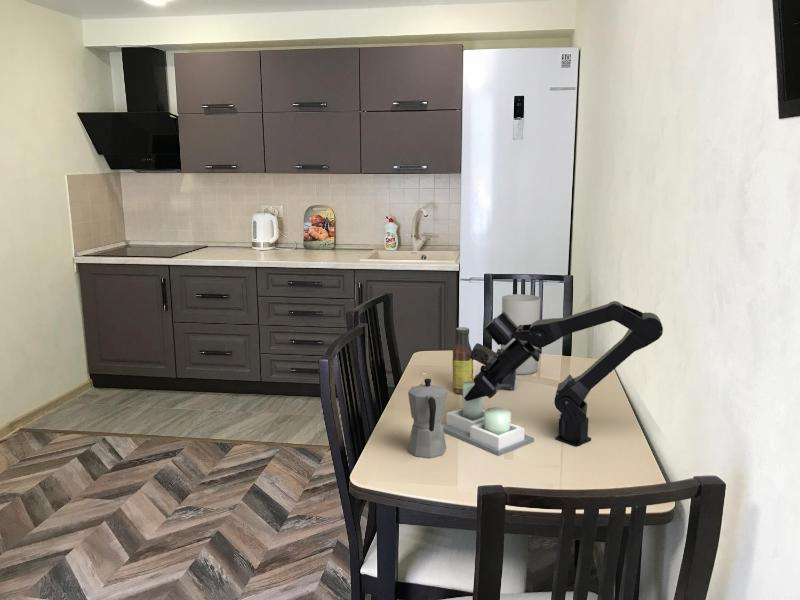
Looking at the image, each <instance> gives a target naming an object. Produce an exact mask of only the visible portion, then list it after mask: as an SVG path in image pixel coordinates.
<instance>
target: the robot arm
mask: <svg viewBox="0 0 800 600" xmlns="http://www.w3.org/2000/svg"><path fill="white" fill-rule="evenodd" d="M614 321H615V323H618V324H620V325H622V326H623V327H625V328H627V329H628V330H626V333H625V334H624V336H623V337H622V338H621V339H620V340H619V341H618V342H616V343H615V344H614V345H613V346H612V347H611V348H610V349H608V350H607V352H605V353H604V354H603V355H602V356H600V358H598V360H596V361H595V362H593V364H591V365H590V367H588V368H587V369H586V370H585V371H584V372H583V373H581V374H580V375H578V376H576V377H573V376H572V375H571V374H568V376H567V377H566V378H565V379H564V380H563V381H561V382H559V383H558V384H557V389H556V392H555V396H554V406H555V409H556V410H557V411H558V412H560V415H559V419H558V425H557V426H558V430H557V431H558V432H557V433H558V435H556V436H555V440H558V441H560V442H564V443H566V444H568V445H571V446H573V447H579V446H580V445H584V444H586V443H588V442H590V441H592V437H590V436H589V422H590V421H589V419H590V418H589V417H587V414H588V403H587V402H586V401H585V399H586V398H587V396H588V395H589V393H590V392H591V390H592V389H594V387H596V386H597V385H599V384H600V383H601V381H603V380H604V379H605V378H606V377H607V376H608V375H609V374H611V373H612V372H613V371H614V370H615V369H617V367H619V365H621V364H622V363H623V362H625V361H626V360H627V359H628V358H629V357H630V356H631V355H632V354H634V353H635V352H637V351H640V350H642V349H644V348H647V347H648V346H650V345H652V344H653V343H655V342H656V341H658V340H659V339H660V338H661V337H662V335H663V333H664V327H663V324H662V321H661V319H660V317H659V316H658V315H657V314H655V313H652V312H642V311H640V310H638V309H636V308H633V307H629V306H627V305H624V304H622V303H621V302H619V301H616V300H614V301H610V302H609V303H606V304H604V305H600V306H596V307H594V308H591V309H587V310H584V311H583V310H582V311H581V312H577V313H574V314H571V315H568V316H567V315H566V316H564V317H560V318H545V319H543V318H542V319H540V320H537V321H535V322H533V323H532V324H528V325H519V326H518V327H517V325H516V324H515V323H514V322H513V321H512V320H511V319H510V318H509V317H508V315H507V314H506V313H505V312H503V313H502V312H501V313H500V314H499V315H498V316H496V317H494V318H493V319H492V320H491V321H490V322H489V323H488V324H487V325H485V326H484V328H483V330H484V332H485V333H486V334H487V335H488V336H489V337H490V338H491V339H492V340H493V341H494V342H495V343H496V344H497V345H498V346H501V345H504V346H505V345H506V344H508V343H509V342H510V341H511V340H512V339H513V338H515V339H516V340H514V341H513V342H512V343H511V344H510V345H509V346H508V347H506V348H505V349H504V350H503V351H499V352H498V353H497V352H495V351H494V350H492V349H491V348H488V347H487V346H485V345H483V344H481V343H479V342H478V343H475V345H474V347H472V349H471V350H472V352H471V354H470V356H469V357H470V358H471V359H472V360H473V361H475V362H478V363H480V364H482V365H481V366H480V370H479V372H478V373H477V374H475V376H473V381H474V383H475V384H474V386H473V387H472V388H471V390H470V391H469V392H468V393H467V395H466V396H465V397H464V399H465V400H466V401H469V400H473V399H477V398H481V397H482V398H485V397H487V398H488V399H492V398H493V397H494V396H496V395H497V393H498V390H499V389H498V384H497V383H499V384H501V383H503V381H504V379H505V378H507V377H508V376H509V375H510V374H513V373H514V372H515V371H516V369H517V368H518V367H520V366H521V365H522V364H523V363H524V362H525V361H527V360H528V359H529V358H530V357H531V356H532V357H533V358H534V359H535V361H537V362H538V363H539V361H540V358H541V351H542V349H541V348H544V347H547V346H548V345H549V346H550V344H553V343H555V342H556V341H558V340H560V339H561V338H563V337H565V336H567V335H569V334H573V333H577V332H580V331H582V330H583V331H584V330H587V329H589V328H593V327H595V326H599V325H603V324H606V323H610V322H614ZM525 341H526V342H525ZM534 346H535V347H537V348H538V349H537V348H535V347H534Z"/></svg>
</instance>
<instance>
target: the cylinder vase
mask: <svg viewBox="0 0 800 600" xmlns="http://www.w3.org/2000/svg"><path fill="white" fill-rule="evenodd" d="M503 312H505V313H506V314H507V315H508V317H509V318H510V319H511V320H512V321H513V322H514V323H515V324H516V325H517V327H518V326H519V325H528V324H532V323H533V322H535V321H537V320H541V319H540V317H541V316H540V315H541V297H540V296H538V295H532V294H523V293H522V294H519V293H518V294H517V293H515V294H505V295H502V297H501V313H503ZM514 340H516V339H515V338H513V339H512V340H511V341H510V342H509V343H508V344H506V345H505V346H504V345H501V344H500V349H505V348H506V347H508V346H509V345H510V344H511V343H512V342H513V341H514ZM525 342H526V341H525ZM534 347H535V346H534ZM535 348H537V347H535ZM537 349H539V348H537ZM538 366H539V361H538V362H537V361H535V359H534V358H533V357H532V356H531V357H530V358H529V359H528V360H527V361H525V362H524V363H523V364H522V365H521V366H520V367H518V368H517V369H516V375H517V376H518V375H520V376H521V375H530V374H535V373H536V372H537V371H538Z"/></svg>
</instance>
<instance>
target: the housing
mask: <svg viewBox="0 0 800 600" xmlns="http://www.w3.org/2000/svg"><path fill="white" fill-rule="evenodd" d="M511 421H512V411H510V410H509V409H508V408H504V407H499V406H498V407H495V406H494V407H489V408H486V409H483V408H482V418H479V419H476V420H473V421H472V420H469V419H467V418H464V417H463V407H462V408H458V409H455V410H452V411H449V412H446V423H443V424H442V425H443V430H444V434H447V435H449V436H451V437H453V438H456V439H458V440H461V441H463V442H465V443H468V444H470V445H472V446H474V445H475V447H477V448H479V449H482V450H484V451H487V452H488V453H491V454H493V455H495V456H498V457H499V456H502V455H504V454H507V453H509V452H512V451H514V450H517V449H520V448H521V447H524V446H527V445H529V444H532V443H534V442H535V438H534V437H532V436H531V435H527V434H525V430H526V429H525V427H523V426H519V425H516V424H514V423H511Z"/></svg>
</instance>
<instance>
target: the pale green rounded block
mask: <svg viewBox="0 0 800 600" xmlns="http://www.w3.org/2000/svg"><path fill="white" fill-rule="evenodd" d="M474 384H475V383H474V381H467V382H464V383H463V394H462V408H463V417H464V418H467V419H469V420H472V421H473V420H476V419H479V418H482V409H483V397H481V398H477V399H473V400H469V401H466V400H465V399H464V397H465V396H466V395H467V393H468V392H469V391H470V390H471V388H472V387H473V386H474Z"/></svg>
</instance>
